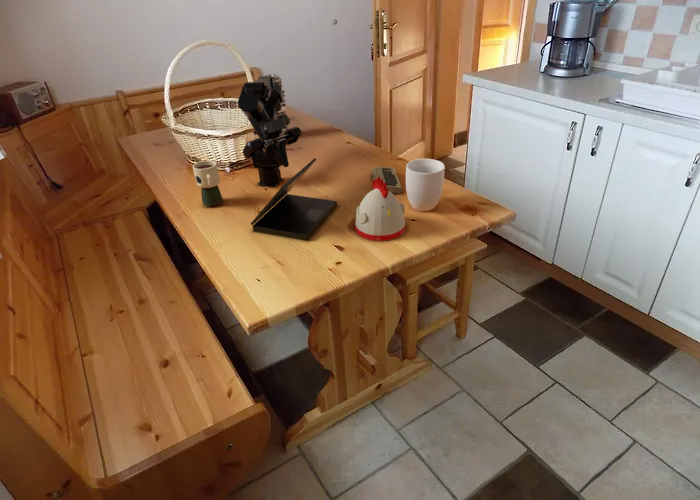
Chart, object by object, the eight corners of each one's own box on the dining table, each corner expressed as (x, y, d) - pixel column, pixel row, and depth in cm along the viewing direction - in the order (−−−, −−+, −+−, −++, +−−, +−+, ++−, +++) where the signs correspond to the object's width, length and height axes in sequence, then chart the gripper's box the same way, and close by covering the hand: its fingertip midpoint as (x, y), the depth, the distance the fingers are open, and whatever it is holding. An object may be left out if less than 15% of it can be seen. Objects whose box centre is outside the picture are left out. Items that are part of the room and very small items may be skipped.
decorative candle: (280, 142, 193) (272, 79, 180) (263, 139, 197) (254, 77, 184) (294, 136, 199) (287, 74, 186) (277, 132, 204) (269, 72, 190)
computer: (402, 193, 149) (402, 183, 148) (376, 195, 149) (376, 185, 147) (395, 173, 163) (395, 164, 161) (371, 175, 162) (371, 166, 161)
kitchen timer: (368, 245, 124) (367, 194, 116) (347, 222, 135) (345, 174, 127) (414, 233, 129) (416, 182, 121) (390, 212, 140) (391, 164, 131)
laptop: (337, 206, 144) (336, 200, 143) (307, 241, 128) (307, 234, 127) (287, 199, 149) (287, 193, 148) (253, 231, 133) (252, 225, 132)
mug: (402, 193, 150) (403, 154, 143) (437, 192, 149) (439, 152, 142) (406, 215, 137) (407, 174, 130) (444, 214, 137) (448, 172, 130)
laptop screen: (316, 159, 138) (314, 157, 138) (283, 189, 122) (280, 187, 121) (287, 194, 148) (285, 192, 148) (252, 225, 132) (250, 223, 132)
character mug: (198, 199, 152) (189, 161, 145) (220, 194, 154) (212, 156, 147) (205, 213, 144) (195, 173, 136) (228, 207, 146) (220, 168, 139)
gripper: (241, 114, 129) (269, 162, 128) (295, 99, 140) (322, 144, 139) (231, 135, 139) (257, 181, 138) (282, 120, 149) (307, 162, 148)
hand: (287, 166), depth 140 cm, fingers closed
